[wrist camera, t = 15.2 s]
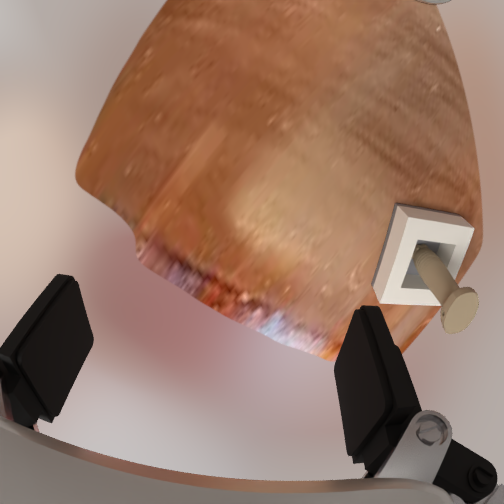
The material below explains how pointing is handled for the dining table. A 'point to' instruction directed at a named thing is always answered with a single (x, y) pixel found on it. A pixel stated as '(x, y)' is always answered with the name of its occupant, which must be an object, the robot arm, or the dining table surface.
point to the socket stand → (402, 247)
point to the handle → (446, 290)
